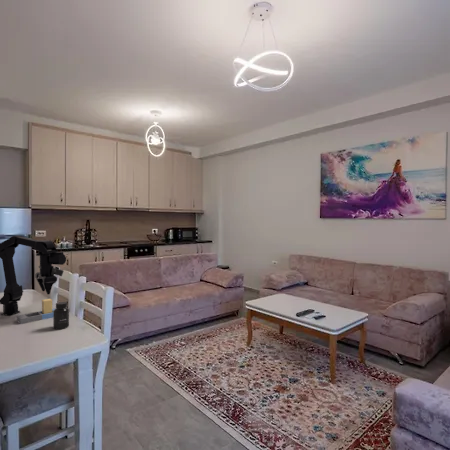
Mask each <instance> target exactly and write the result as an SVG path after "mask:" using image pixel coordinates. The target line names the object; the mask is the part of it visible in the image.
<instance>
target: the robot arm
mask: <svg viewBox="0 0 450 450" xmlns="http://www.w3.org/2000/svg"><path fill="white" fill-rule="evenodd" d="M19 245H21V246H25V247H30V248H33V249H35V251H38V252H37V253H36V254H35V255H36V256H37V257H39V265H38V269H39V271H38V272H36V273H35V274H34V278H35V280H36V281H37V283H38V285H39V288H40V289H41V291H42V292H46V295H50V294H51V291H52V288H53V285H54V284H56V283H57V282H58V277H57V276H59V277H62V276H63V274H64V270H63V269H60V266H64V265H65V263H66V261H67V257H66V255H65V254H64V251H58V249H57V247H56V246H55V245H54V242H53V241H52V240H49V239H48V240H39V239H38V240H37V239H34V238H29V237H25V236H22V235H12V236H10V238H9V237H8V239H6V240H3V241H2V242H0V259H1V262H2V268H3V273H4V279H5V280H4V281H5V287H4V289H3V296H2V297H1V298H0V305H2V311H3V312H2V313H0V315H1V316H3V315H4V316H13V315H16V314H18V313H21V310H19V304H18V302H19V301H21V298H22V296H23V293H24V289H23V286H22V285H19V284H18V282H17V276H16V271H15V270H16V269H15V264H14V256H15V253H16V249H17V247H19ZM54 265H57V266H54Z"/></svg>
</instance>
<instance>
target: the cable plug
mask: <svg viewBox="0 0 450 450" xmlns="http://www.w3.org/2000/svg"><path fill="white" fill-rule="evenodd" d="M52 309H53V299H52V298H46V299H45V298H44V299H41V311H42V314H47V313H52Z"/></svg>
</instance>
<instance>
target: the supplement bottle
mask: <svg viewBox="0 0 450 450" xmlns="http://www.w3.org/2000/svg"><path fill="white" fill-rule="evenodd" d="M55 308H56V309H55ZM55 308H54V309H55V310H54V312H53V317H52V319H53V322H52V325H53V329H54V330H64V329H68V328H69V326H70V309H69V307H68V302H67V301H59V302H57V303H55Z"/></svg>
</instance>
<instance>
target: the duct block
mask: <svg viewBox="0 0 450 450" xmlns="http://www.w3.org/2000/svg"><path fill="white" fill-rule="evenodd" d="M55 309H56V307H55V308H52V313H47V314H42V310H40V311H33V312H29V313H24V314H18V315H17V316H16V321H17V322H18V323H19V324H20V325H23V324H27V323H31V322H36V321H42V320H47V319H53V312H54V310H55Z"/></svg>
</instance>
